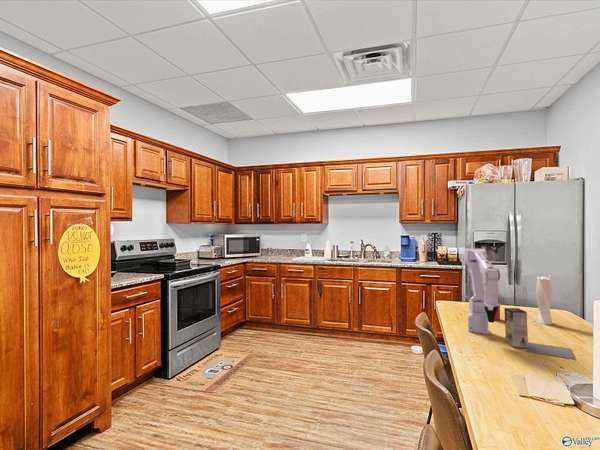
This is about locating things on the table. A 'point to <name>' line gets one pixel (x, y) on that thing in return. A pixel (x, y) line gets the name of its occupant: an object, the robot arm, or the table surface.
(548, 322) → the skyscraper
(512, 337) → the coffee box
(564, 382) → the table surface
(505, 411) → the table surface
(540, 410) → the table surface
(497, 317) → the beer can
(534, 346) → the mat
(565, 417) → the table surface
